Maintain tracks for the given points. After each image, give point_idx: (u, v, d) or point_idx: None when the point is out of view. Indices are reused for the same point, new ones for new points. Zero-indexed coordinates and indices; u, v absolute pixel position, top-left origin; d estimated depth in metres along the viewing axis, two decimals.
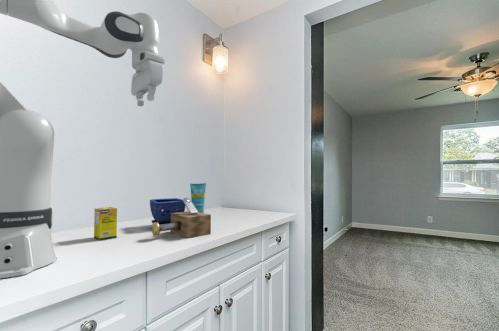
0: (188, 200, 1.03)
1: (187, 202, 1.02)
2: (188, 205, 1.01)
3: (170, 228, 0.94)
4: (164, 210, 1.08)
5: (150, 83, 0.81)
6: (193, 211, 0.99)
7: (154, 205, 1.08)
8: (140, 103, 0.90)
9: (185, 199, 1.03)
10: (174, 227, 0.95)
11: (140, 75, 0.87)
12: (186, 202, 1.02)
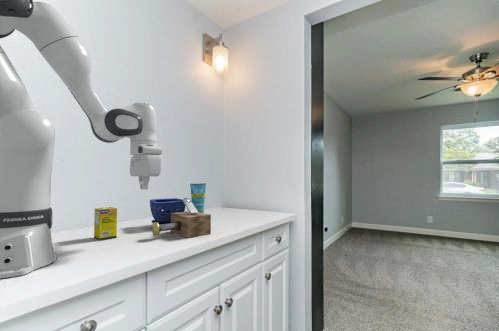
0: (188, 200, 1.03)
1: (187, 202, 1.02)
2: (188, 205, 1.01)
3: (170, 228, 0.94)
4: (164, 210, 1.08)
5: (148, 176, 0.83)
6: (193, 211, 0.99)
7: (154, 205, 1.08)
8: None
9: (185, 199, 1.03)
10: (174, 227, 0.95)
11: (138, 162, 0.89)
12: (186, 202, 1.02)
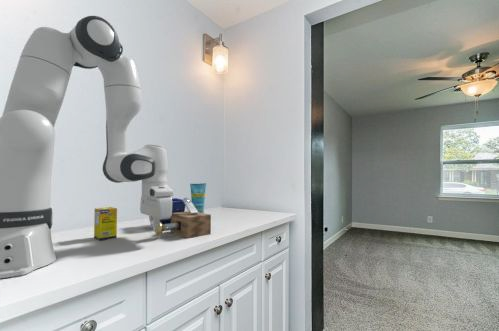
0: (188, 200, 1.03)
1: (187, 202, 1.02)
2: (188, 205, 1.01)
3: (173, 228, 0.95)
4: None
5: None
6: (193, 211, 0.99)
7: None
8: None
9: (185, 199, 1.03)
10: (176, 227, 0.96)
11: (149, 202, 0.91)
12: (186, 202, 1.02)
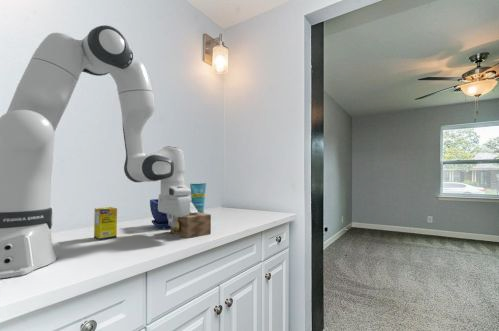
0: None
1: None
2: None
3: None
4: None
5: (178, 216, 0.90)
6: (193, 211, 0.99)
7: (154, 205, 1.08)
8: None
9: None
10: None
11: (168, 201, 0.96)
12: None
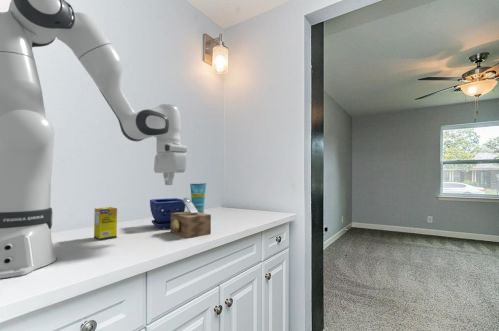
0: (188, 200, 1.03)
1: (187, 202, 1.02)
2: (188, 205, 1.01)
3: None
4: (164, 210, 1.08)
5: (174, 172, 0.90)
6: (193, 211, 0.99)
7: (154, 205, 1.08)
8: None
9: (185, 199, 1.03)
10: None
11: (164, 159, 0.95)
12: (186, 202, 1.02)
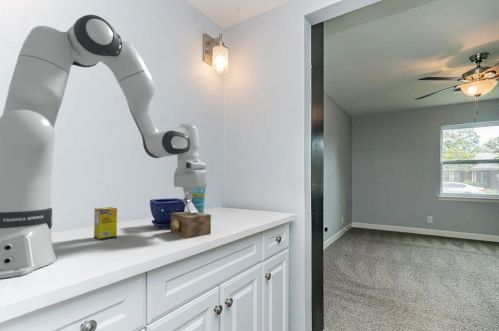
0: (188, 200, 1.03)
1: (187, 202, 1.02)
2: (188, 205, 1.01)
3: None
4: (164, 210, 1.08)
5: None
6: (193, 211, 0.99)
7: (154, 205, 1.08)
8: None
9: (185, 199, 1.03)
10: None
11: (184, 175, 1.03)
12: (186, 202, 1.02)
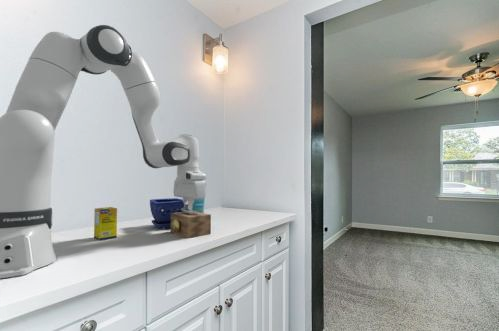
0: None
1: (185, 209, 1.03)
2: (187, 210, 1.02)
3: None
4: (164, 210, 1.08)
5: None
6: (192, 211, 0.99)
7: (154, 205, 1.08)
8: None
9: (183, 208, 1.05)
10: None
11: (184, 185, 1.03)
12: (184, 209, 1.03)
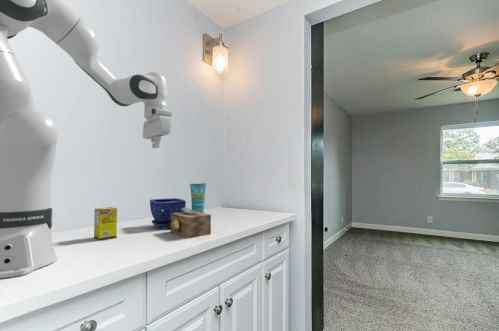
0: (186, 208, 1.04)
1: (185, 209, 1.03)
2: (187, 210, 1.02)
3: None
4: (164, 210, 1.08)
5: (160, 134, 0.98)
6: (192, 211, 0.99)
7: (154, 205, 1.08)
8: None
9: (183, 208, 1.05)
10: None
11: (151, 124, 1.03)
12: (184, 209, 1.03)
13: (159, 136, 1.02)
